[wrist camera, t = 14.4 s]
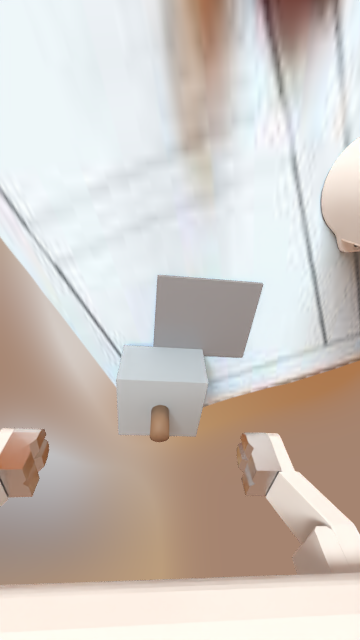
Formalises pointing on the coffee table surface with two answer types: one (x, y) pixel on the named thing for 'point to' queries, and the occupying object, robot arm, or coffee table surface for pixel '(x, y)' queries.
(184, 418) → the cover
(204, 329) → the mat
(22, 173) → the coffee table surface
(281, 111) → the coffee table surface
